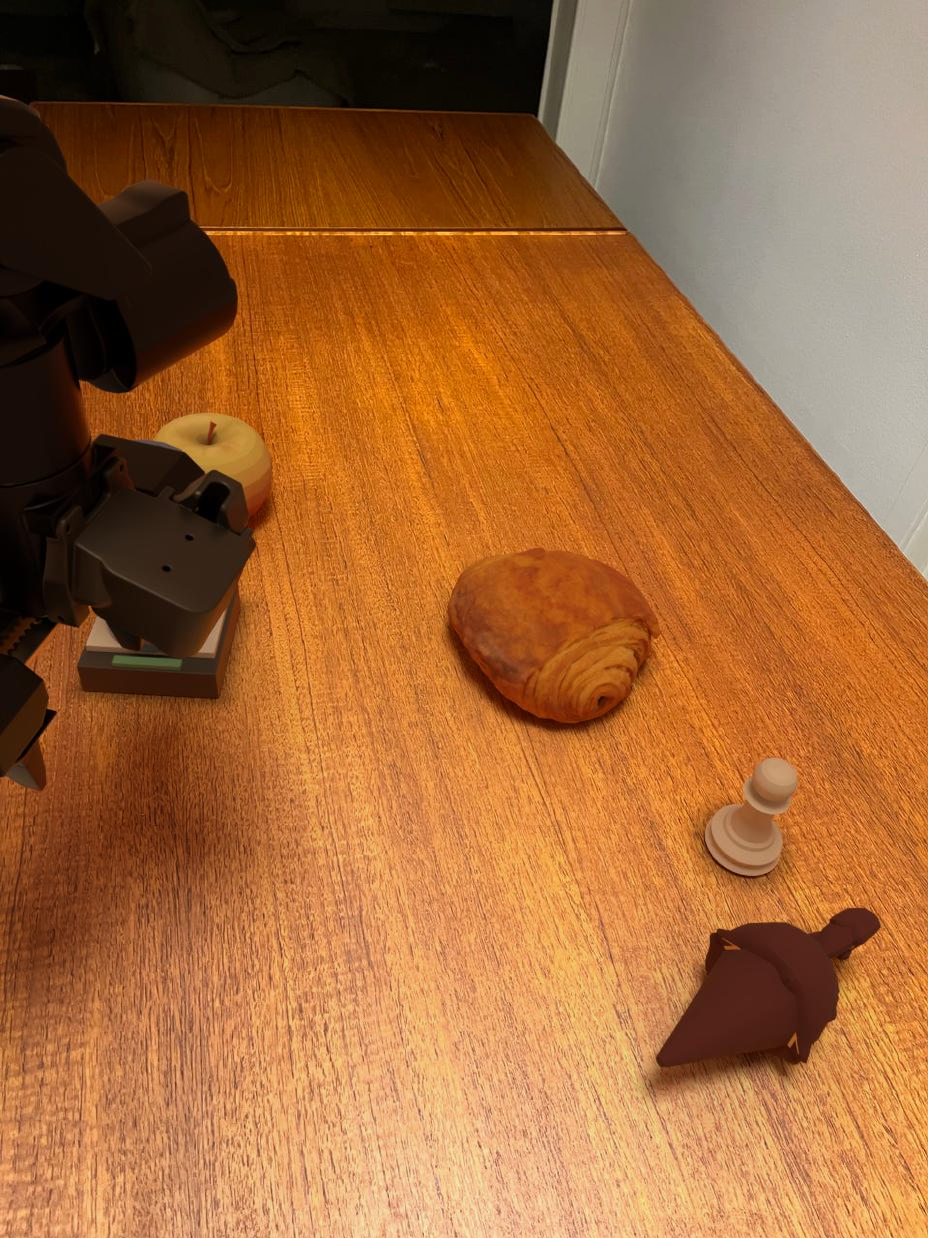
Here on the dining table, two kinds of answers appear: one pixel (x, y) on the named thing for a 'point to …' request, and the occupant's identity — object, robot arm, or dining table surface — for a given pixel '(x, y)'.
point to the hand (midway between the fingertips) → (86, 712)
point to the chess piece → (753, 821)
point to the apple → (224, 451)
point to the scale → (158, 663)
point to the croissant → (554, 630)
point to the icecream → (767, 990)
